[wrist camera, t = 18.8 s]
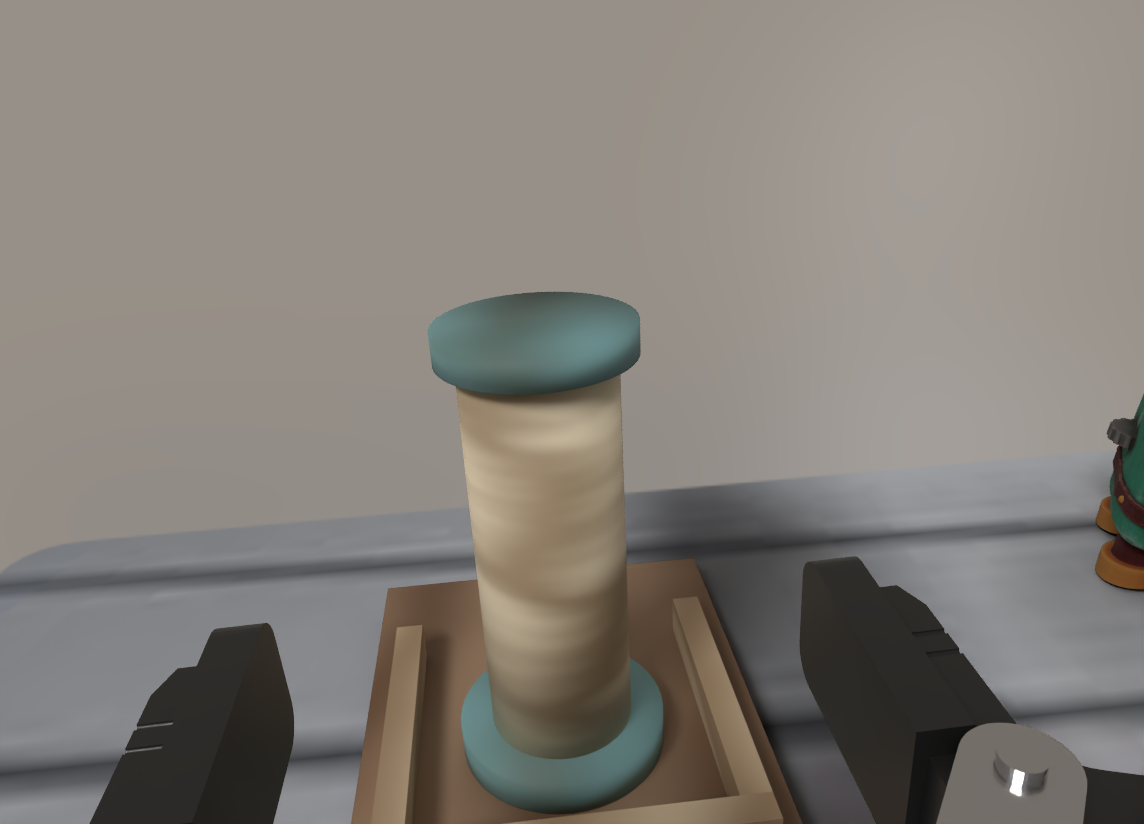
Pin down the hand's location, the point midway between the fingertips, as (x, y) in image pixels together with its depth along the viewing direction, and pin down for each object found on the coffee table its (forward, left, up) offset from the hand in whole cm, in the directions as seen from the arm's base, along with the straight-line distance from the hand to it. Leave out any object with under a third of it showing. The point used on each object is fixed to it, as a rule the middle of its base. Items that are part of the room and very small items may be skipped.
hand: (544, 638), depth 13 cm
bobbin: (-1, -13, -14) cm, 20 cm away
